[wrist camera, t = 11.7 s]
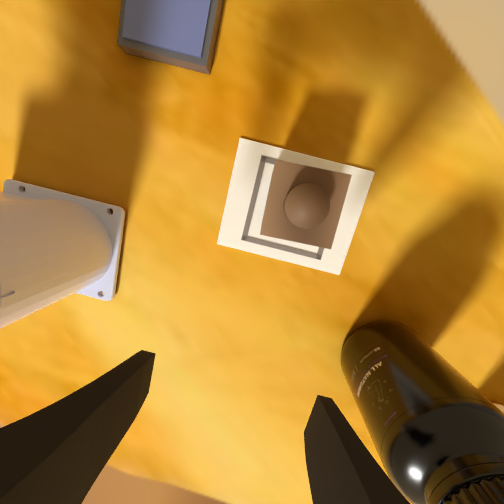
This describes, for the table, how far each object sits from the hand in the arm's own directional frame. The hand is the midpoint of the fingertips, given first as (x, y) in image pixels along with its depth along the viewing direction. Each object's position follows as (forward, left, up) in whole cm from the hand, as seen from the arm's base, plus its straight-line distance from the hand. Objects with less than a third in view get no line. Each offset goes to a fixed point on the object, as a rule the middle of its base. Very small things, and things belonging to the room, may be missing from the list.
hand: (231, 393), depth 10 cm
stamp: (+1, +8, -10) cm, 13 cm away
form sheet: (+2, +8, -10) cm, 13 cm away
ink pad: (-10, +18, -10) cm, 23 cm away
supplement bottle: (+12, -2, -10) cm, 16 cm away
